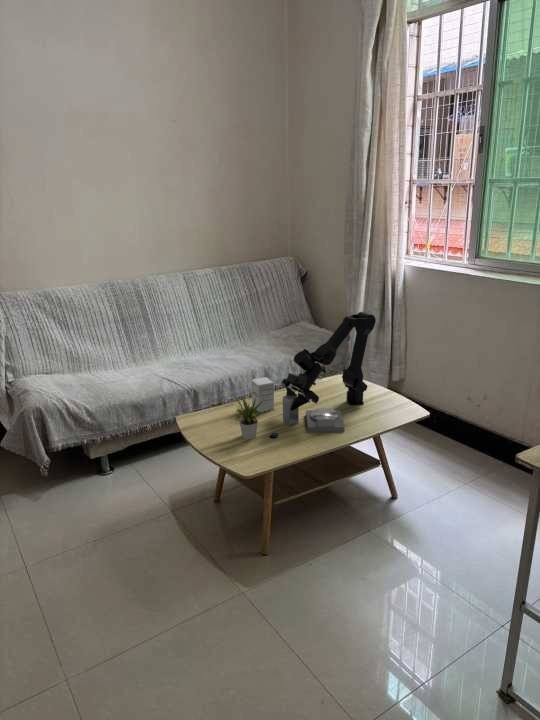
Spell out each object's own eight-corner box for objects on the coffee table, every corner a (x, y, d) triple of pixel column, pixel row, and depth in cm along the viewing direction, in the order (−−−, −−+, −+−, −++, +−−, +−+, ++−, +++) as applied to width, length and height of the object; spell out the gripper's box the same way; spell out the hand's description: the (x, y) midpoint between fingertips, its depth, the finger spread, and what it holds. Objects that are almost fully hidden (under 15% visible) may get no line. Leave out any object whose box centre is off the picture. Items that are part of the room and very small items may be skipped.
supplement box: (251, 406, 240) (250, 379, 236) (267, 403, 243) (266, 376, 239) (258, 413, 234) (257, 385, 230) (274, 409, 237) (274, 382, 232)
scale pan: (336, 410, 230) (336, 407, 230) (339, 422, 220) (339, 419, 219) (309, 410, 230) (309, 408, 230) (311, 422, 220) (311, 419, 219)
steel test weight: (291, 418, 228) (291, 393, 224) (298, 422, 224) (298, 397, 221) (282, 421, 225) (282, 396, 222) (289, 425, 222) (289, 400, 218)
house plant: (220, 439, 211) (218, 399, 206) (238, 425, 223) (237, 387, 217) (253, 447, 205) (251, 406, 200) (270, 432, 216) (269, 393, 211)
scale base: (339, 414, 231) (340, 402, 229) (344, 431, 216) (344, 419, 214) (306, 414, 231) (306, 402, 230) (308, 432, 216) (308, 419, 214)
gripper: (284, 359, 227) (262, 390, 224) (313, 372, 212) (290, 405, 210) (300, 373, 233) (278, 404, 231) (329, 386, 219) (306, 419, 216)
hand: (287, 408), depth 222 cm, fingers closed on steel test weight, 4 cm apart
